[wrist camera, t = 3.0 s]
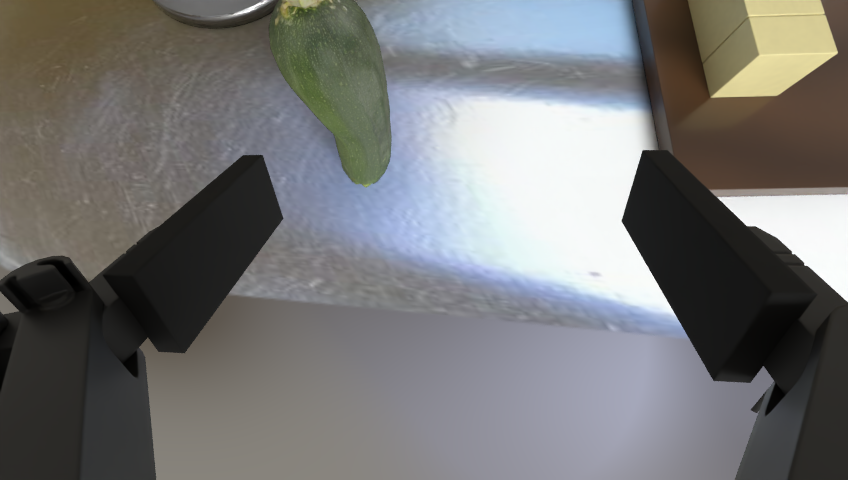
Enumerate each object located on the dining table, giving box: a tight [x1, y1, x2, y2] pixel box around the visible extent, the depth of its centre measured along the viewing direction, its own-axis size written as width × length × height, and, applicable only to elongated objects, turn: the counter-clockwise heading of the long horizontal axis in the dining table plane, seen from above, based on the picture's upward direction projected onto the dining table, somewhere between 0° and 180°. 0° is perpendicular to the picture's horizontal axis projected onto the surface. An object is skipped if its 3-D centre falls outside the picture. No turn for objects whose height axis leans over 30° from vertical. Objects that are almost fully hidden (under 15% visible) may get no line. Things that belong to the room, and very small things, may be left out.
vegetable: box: [269, 0, 391, 187], centre depth 20 cm, size 4×4×20 cm
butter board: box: [632, 0, 848, 197], centre depth 30 cm, size 24×18×2 cm
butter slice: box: [703, 15, 838, 98], centre depth 27 cm, size 3×5×4 cm, turn 91°
